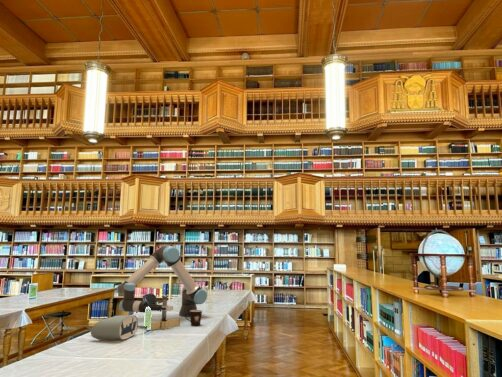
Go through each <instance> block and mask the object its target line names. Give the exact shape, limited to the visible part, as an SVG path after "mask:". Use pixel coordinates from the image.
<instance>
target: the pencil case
mask: <svg viewBox="0 0 502 377" xmlns="http://www.w3.org/2000/svg"><path fill="white" fill-rule="evenodd" d="M138 324H139V320H138V317H137V315H135V314H131V315H130V314H127V315H125V314H121V315H119V314H118V315H114V316H111V317H107V318H104V319H102V320H99V321H97V322H96V323H95V324H94V325H93V326H92V327H91V331H90V335H91V338H93V339H96V340H100V341H109V340H127V339H129V338H131V337H132V336H134V335H136V333H137V331H138V327H139V326H138Z"/></svg>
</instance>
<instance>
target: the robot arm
mask: <svg viewBox="0 0 502 377" xmlns="http://www.w3.org/2000/svg"><path fill="white" fill-rule="evenodd" d="M180 254H181V252H180V251H179V249H178V248H177V247H175V246H172V245H169V246H167V245H166V246H161V247H158V248H157V249H156V250H155V251H154V252H152V254H150V256H149V258H148V260H147V261H146V262H144V263H143V264H142V265H141V266H140V267H138V268H137V269H136V271H134V273H132V274H131V275H130V276H129V277H128V278H127V279H126V280H125V281H124V282H123V283H121V284H118V285H117V287H116V292H117V294H119V295H120V296H123V299H122V300H120V302H119V305H118V309H119V311H121V312H127V313H128V312H130V313H136V314H138V313H143V314H144V313H146V312H145V309H146V307H148V306H149V307H150V308H151V311H155V312H156V311H158V312H161V313H162V311H167V312H171V311H174V305H167V307H166V306H162V304H156V303H149V302H148V301H147V300H145V301H143V300H142V301H141V300H135V296H136V295H135V294H136V293H135V292H136V285H137V284H138V283H139V282H140V281H141V280H143V279H144V277H146V276H147V275H148V274H149V273H150V272H151V271H152V270H153V269H155V267H157V266H159V265H160V264H161V263H163V262H164V263H165V264H166V266H167V267H168V268H171V269H172V271H173V272H174V274H175V276H177V279H178V280H179V281H180V282H181V284H182V285H183V287H182V291H181V307H180V309H179V312H178V315H179V316H180V317H186V318H187V317H188V318H189V317H190V315H189V314H186V313H190V310H198V307H197V305H203V304H204V303H205V302H206V301H207V299H208V294H207V291H206V290H205V289H203V288H202V287H201V286H200V284H199V283H196V282H195V280H194V279H193V277H192V276H191V274H190V273H189V271H188V270H187V269H186V267H185V266H184V263H182V261H181V256H180ZM185 314H186V315H185Z"/></svg>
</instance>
